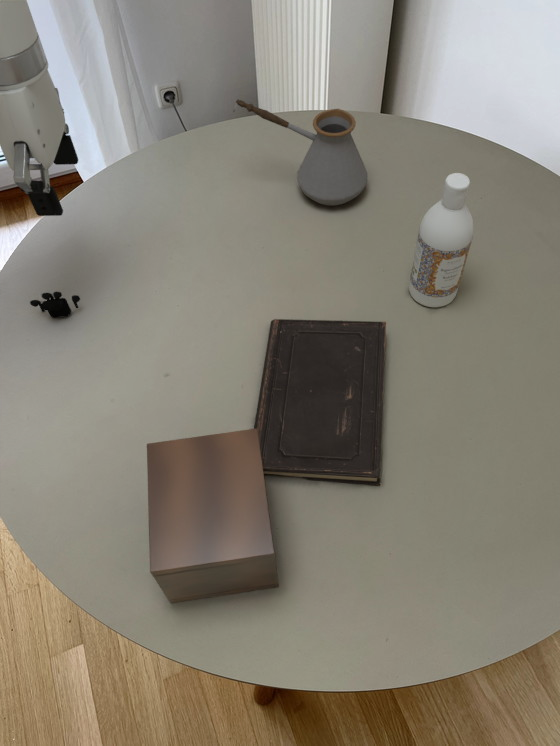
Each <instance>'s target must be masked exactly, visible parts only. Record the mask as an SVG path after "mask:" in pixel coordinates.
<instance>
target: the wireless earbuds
mask: <svg viewBox="0 0 560 746" xmlns="http://www.w3.org/2000/svg"><path fill="white" fill-rule="evenodd" d="M40 295H41V299H43V301H40V300H39V299H33V300H30V301H29V304H30V306H32V307H34V308H38V307H39V309H40V310H41V312H42V313H45V312H46V311H47V313H48V315H49V317H50V318H52V319H58V318H65V317H66V318H67V317H70V316H71V315H72V314H71V313H72V309H71V307H70V304H69V302H68V300H67V298H65V297H62V296H63V293H62V292H61V291H54V292H52V293H51V292H43V293H41V294H40ZM80 301H81V296H80V295H74V294H73V295H72V296H71V302H72V303H73V305H74V307H75V309H79V305H78V303H79V302H80Z"/></svg>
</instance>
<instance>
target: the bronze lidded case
mask: <svg viewBox="0 0 560 746" xmlns="http://www.w3.org/2000/svg"><path fill="white" fill-rule="evenodd" d="M146 463H147V468H146V469H147V501H148V502H147V504H148V505H147V506H148V538H149V539H148V541H149V572H150V575H152V577H153V579H154V580H155V582H156V584H157V585H158V586H159V588H160V589H161V591H162V593H163V594H164V595H165V598H166V599H167V600H168V602H169V603H170V604H173V603H181V602H187V601H195V600H200V599H201V600H202V599H206V598H207V599H208V598H214V597H221V596H227V595H234V594H241V593H247V592H253V591H254V592H255V591H260V590H266V589H274V588H279V577H278V570H277V568H278V567H277V562H276V553H275V546H274V539H273V531H272V525H271V524H272V523H271V517H270V509H269V502H268V494H267V487H266V481H265V474H264V472H263V465H262V458H261V450H260V443H259V436H258V429H257V428H256V429H254V428H250V429H242V430H235V431H229V432H228V431H227V432H221V433H213V434H207V435H201V436H199V435H198V436H192V437H185V438H177V439H171V440H164V441H157V442H150V443H146Z"/></svg>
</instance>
